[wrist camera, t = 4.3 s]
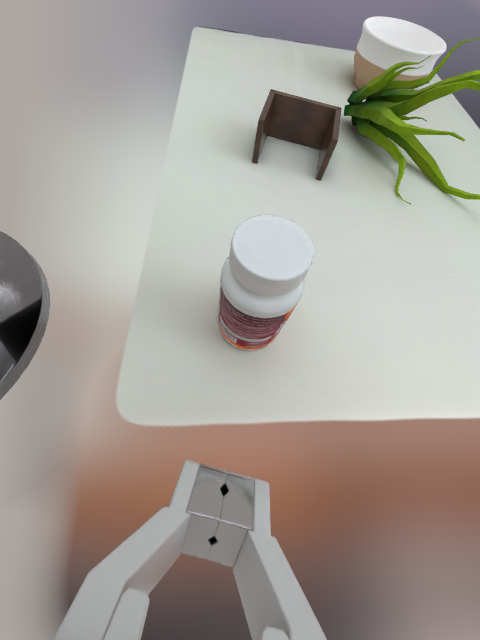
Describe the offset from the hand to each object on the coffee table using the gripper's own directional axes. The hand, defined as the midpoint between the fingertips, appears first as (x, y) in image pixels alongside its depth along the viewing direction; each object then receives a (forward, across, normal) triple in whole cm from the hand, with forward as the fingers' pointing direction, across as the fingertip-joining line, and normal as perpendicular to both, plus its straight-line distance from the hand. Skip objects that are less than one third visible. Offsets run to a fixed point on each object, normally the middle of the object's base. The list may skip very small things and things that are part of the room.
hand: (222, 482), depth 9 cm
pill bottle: (+17, 0, 0) cm, 17 cm away
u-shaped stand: (+39, 0, -22) cm, 45 cm away
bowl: (+62, -15, -44) cm, 78 cm away
